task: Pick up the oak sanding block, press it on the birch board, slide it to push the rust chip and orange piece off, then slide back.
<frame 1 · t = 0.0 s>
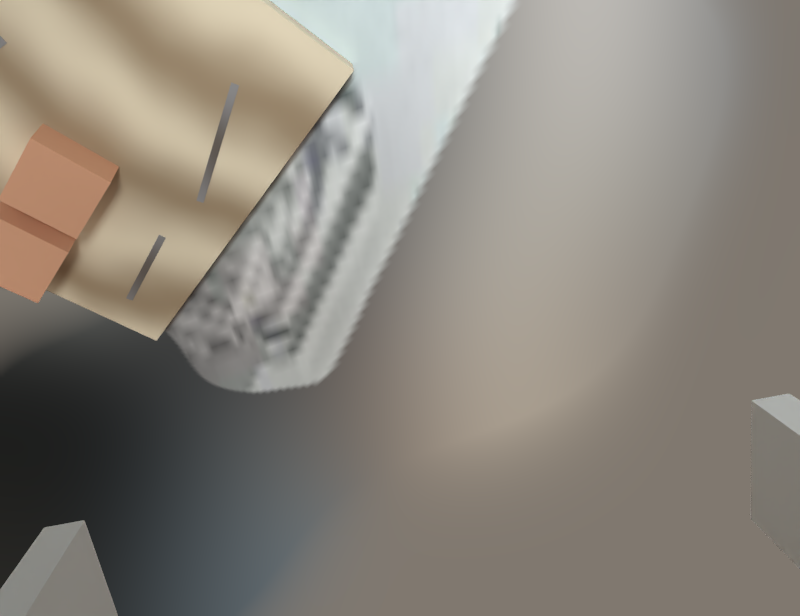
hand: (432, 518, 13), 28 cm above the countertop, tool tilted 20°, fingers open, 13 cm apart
rust chip 1: (65, 174, 35), point 1 cm above the countertop, touching birch board
birch board: (96, 122, 35), on the countertop
orange piece 2: (27, 242, 37), point 1 cm above the countertop, touching birch board
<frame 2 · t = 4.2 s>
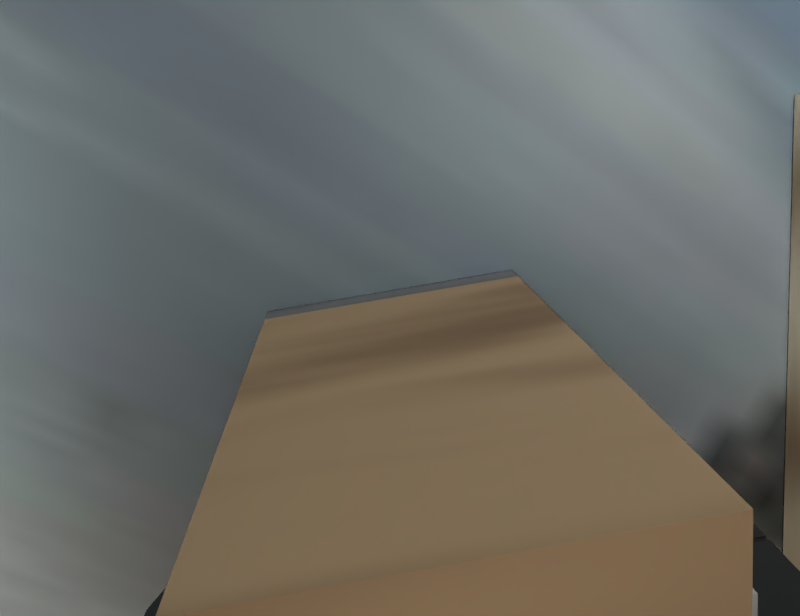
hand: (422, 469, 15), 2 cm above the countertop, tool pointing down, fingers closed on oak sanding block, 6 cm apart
oak sanding block: (411, 419, 17), on the countertop, touching gripper
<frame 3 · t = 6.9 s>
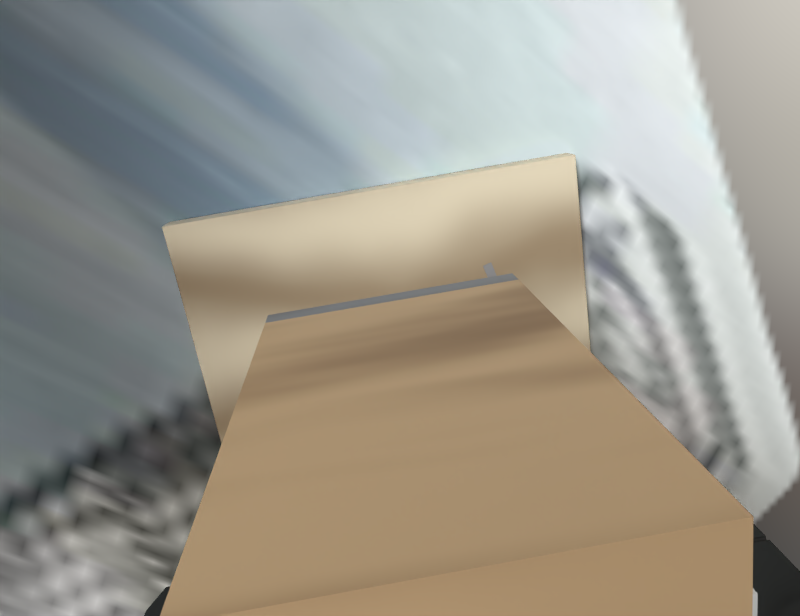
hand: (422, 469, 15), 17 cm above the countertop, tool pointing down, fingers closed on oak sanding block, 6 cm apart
birch board: (406, 398, 33), on the countertop
oak sanding block: (412, 422, 17), point 15 cm above the countertop, touching gripper
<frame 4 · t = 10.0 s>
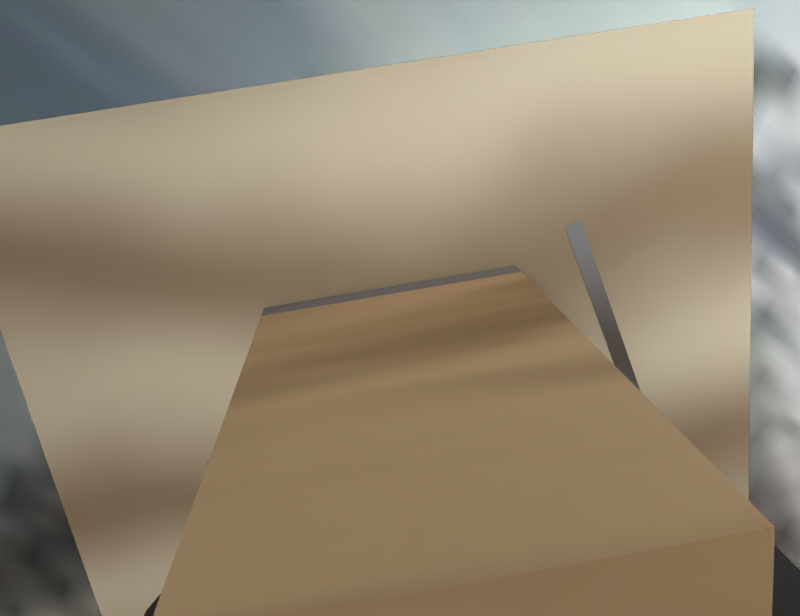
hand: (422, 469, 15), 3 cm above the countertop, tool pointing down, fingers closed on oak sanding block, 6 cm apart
birch board: (414, 464, 19), on the countertop
oak sanding block: (411, 417, 17), point 1 cm above the countertop, touching gripper
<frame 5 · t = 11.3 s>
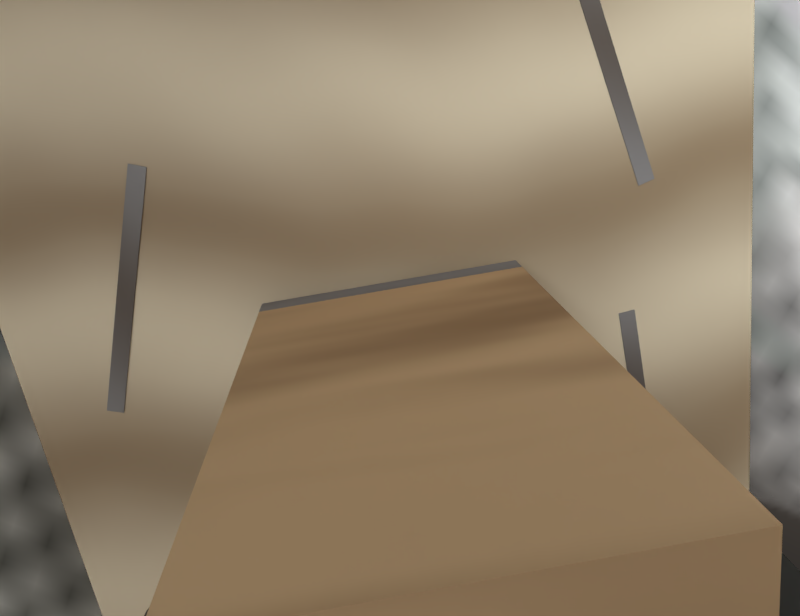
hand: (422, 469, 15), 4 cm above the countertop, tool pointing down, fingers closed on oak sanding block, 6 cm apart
birch board: (372, 202, 16), on the countertop
oak sanding block: (411, 414, 17), point 1 cm above the countertop, touching gripper, rust chip 1
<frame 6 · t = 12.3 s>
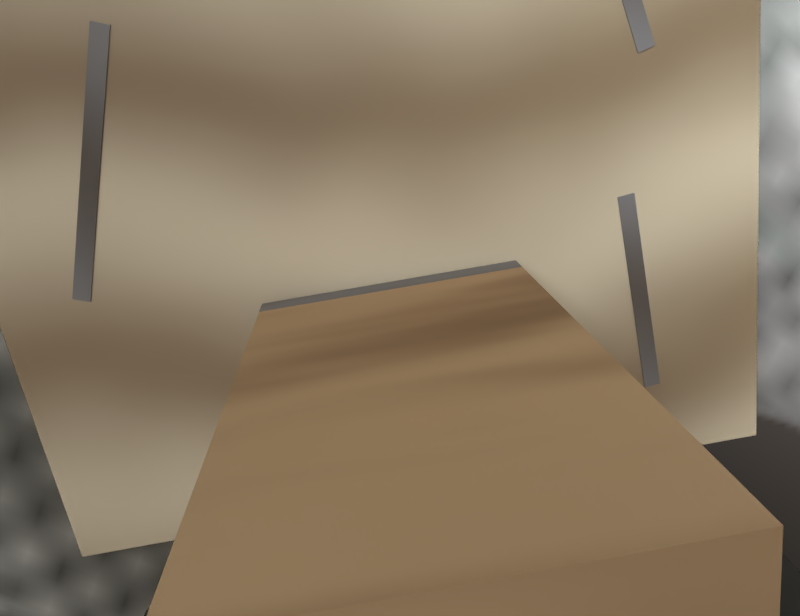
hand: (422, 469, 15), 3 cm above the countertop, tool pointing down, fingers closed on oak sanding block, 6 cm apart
birch board: (354, 79, 15), on the countertop
oak sanding block: (411, 414, 17), point 1 cm above the countertop, touching gripper
when the fingers open (4 cm above the countertop, at t = 15.9 s): oak sanding block stays where it is, resting on birch board.
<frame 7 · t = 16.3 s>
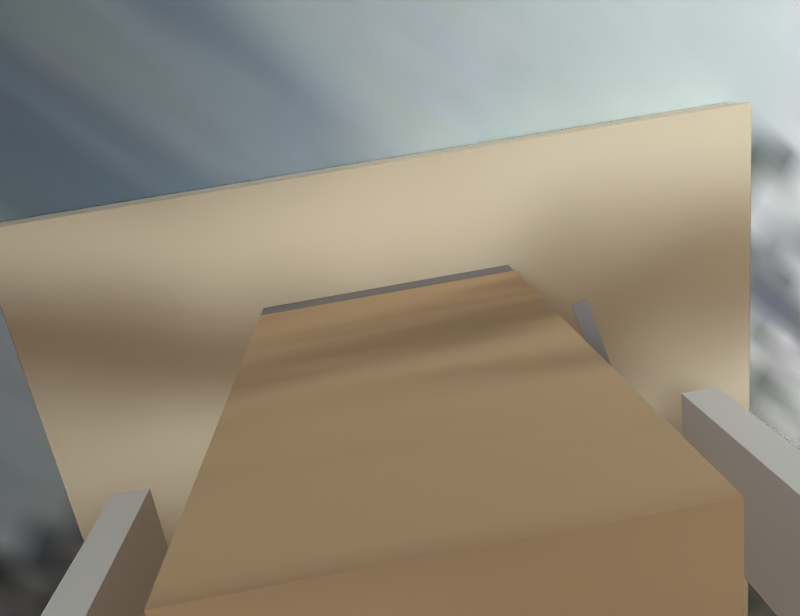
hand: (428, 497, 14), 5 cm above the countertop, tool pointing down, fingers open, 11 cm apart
birch board: (427, 522, 20), on the countertop
oak sanding block: (408, 415, 17), point 1 cm above the countertop, touching birch board
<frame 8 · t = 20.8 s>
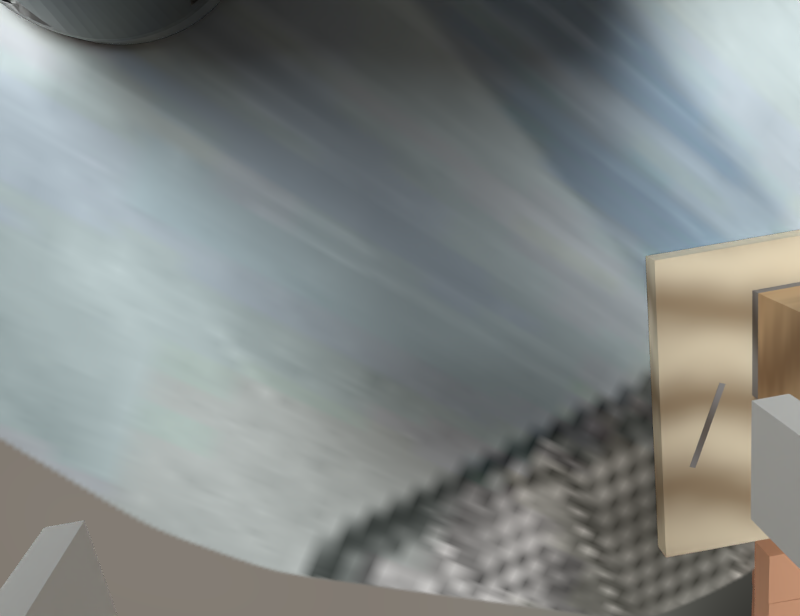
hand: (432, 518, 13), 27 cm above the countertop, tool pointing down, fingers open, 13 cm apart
rust chip 1: (779, 556, 48), on the countertop
birch board: (786, 387, 43), on the countertop
orange piece 2: (778, 602, 49), on the countertop
oak sanding block: (799, 335, 41), point 1 cm above the countertop, touching birch board
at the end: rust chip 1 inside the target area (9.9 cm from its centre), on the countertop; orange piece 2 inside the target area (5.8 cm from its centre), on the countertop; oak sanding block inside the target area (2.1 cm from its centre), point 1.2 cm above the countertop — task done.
